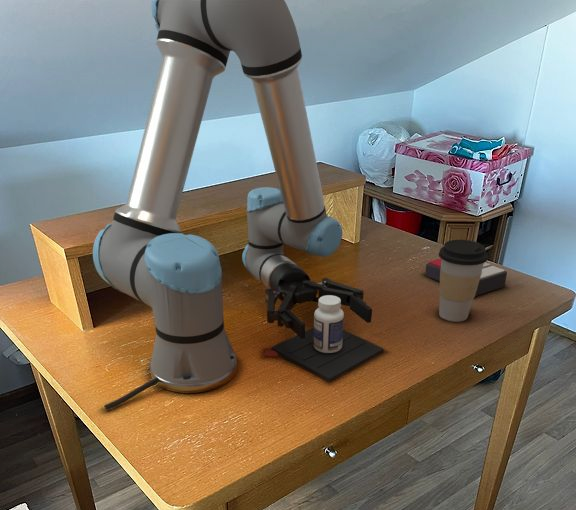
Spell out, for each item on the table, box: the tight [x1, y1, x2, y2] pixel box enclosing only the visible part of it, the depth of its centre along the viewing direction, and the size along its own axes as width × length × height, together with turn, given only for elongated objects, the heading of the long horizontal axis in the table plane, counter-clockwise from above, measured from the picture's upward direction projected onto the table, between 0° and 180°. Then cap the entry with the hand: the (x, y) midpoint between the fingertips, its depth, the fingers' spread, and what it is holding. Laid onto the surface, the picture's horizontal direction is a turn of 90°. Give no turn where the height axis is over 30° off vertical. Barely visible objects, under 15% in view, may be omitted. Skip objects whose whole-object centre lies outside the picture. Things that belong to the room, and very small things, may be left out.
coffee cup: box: [438, 239, 489, 323], centre depth 121 cm, size 9×9×15 cm
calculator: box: [424, 257, 508, 297], centre depth 139 cm, size 11×4×15 cm
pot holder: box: [264, 326, 385, 383], centre depth 112 cm, size 17×16×1 cm
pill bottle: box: [313, 295, 345, 353], centre depth 110 cm, size 5×5×10 cm
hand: (337, 323), depth 106 cm, fingers open, 13 cm apart
